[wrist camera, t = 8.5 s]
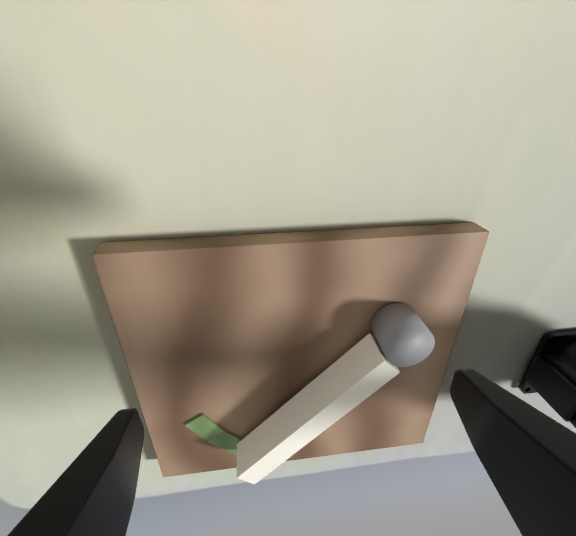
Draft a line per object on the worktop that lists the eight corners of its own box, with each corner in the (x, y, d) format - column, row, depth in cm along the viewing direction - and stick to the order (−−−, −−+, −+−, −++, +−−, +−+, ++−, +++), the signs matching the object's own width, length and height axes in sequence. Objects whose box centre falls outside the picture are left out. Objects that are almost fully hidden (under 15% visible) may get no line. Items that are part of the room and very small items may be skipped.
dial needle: (397, 294, 21) (417, 322, 19) (424, 318, 22) (446, 347, 20) (229, 438, 25) (228, 475, 23) (259, 450, 27) (261, 487, 24)
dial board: (473, 222, 21) (491, 233, 20) (415, 427, 31) (423, 444, 29) (101, 242, 18) (90, 256, 17) (166, 458, 28) (162, 479, 27)
